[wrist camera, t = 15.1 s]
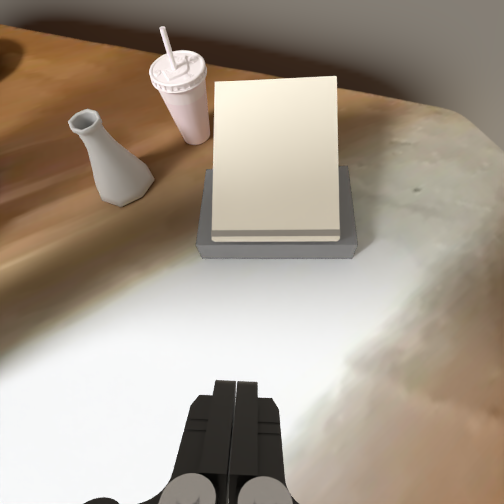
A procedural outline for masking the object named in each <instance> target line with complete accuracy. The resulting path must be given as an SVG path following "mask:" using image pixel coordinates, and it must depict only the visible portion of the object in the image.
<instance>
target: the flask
mask: <svg viewBox="0 0 504 504" xmlns="http://www.w3.org/2000/svg"><path fill="white" fill-rule="evenodd" d="M68 123H69V126H70V128H71V130H72V131H73V132H74V133H77V134H78V135H79V136H80V138H81V139H82V140H83V142H84V144H85V146H86V148H87V150H88V153H89V157H90V161H91V165H92V170H93V175H94V180H95V184H96V187H97V189H98V192H99V194H100V196H101V199H102V201H105V202H108V203H111V204H113V205H116V206H119V207H122V206H124V205H126V204H128V203H131V202H133V201H135V200H137V199H139V198H141V197H143V195H144V194H145V193H146V191H147V190H148V188H149V187H150V186H151V184H152V183H153V181H154V180H155V179H154V177H153V176H152V174H151V172H150V170H149V168H148V166H147V165H146V164H145V163H143V162H142V161H141V160H140V159H138V158H137V157H136V156H134V155H133V154H131V153H130V152H129V151H128V150H126V149H125V148H124V147H123V146H121V145H120V144H119V143H118V142H117V141H115V140H114V139H113V138H112V137H111V135H110V134H109V133H108V132H107V131H106V130H105V129H104V127H103V126H102V120H101V118H100V116H99V114H98V112H97V111H94V110H91V109H85V110H83V111H80V112H78V113H76V114H75V115H74V116H73V117H72V118H71V119H70V120H69V121H68Z"/></svg>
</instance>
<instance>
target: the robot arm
mask: <svg viewBox="0 0 504 504" xmlns="http://www.w3.org/2000/svg"><path fill="white" fill-rule="evenodd" d="M235 398H236V403H235ZM228 499H229V503H228ZM84 504H119V503H118V502H117V501H115V500H114V499H111V498H105V497H103V498H96V499H93V500H90V501H88V502H86V503H84ZM139 504H299V503H298V502H296V501H295V499H294V498H293V497H292V496H291V494H290V493H289V491H288V489H287V486H286V483H285V475H284V464H283V452H282V440H281V429H280V417H279V409H278V407H277V406H276V404H275V402H274V401H273V399H272V398H258V386H257V382H245V381H237V392H236V381H224V380H216V381H215V386H214V391H213V396H212V395H199V396H198V397H197V399H196V400H195V401H194V402H193V403H192V405H191V406H190V410H189V414H188V417H187V421H186V425H185V429H184V432H183V436H182V440H181V443H180V447H179V451H178V455H177V458H176V462H175V466H174V470H173V473H172V476H171V479H170V481H169V482H168V484H167V485H166V487H165V488H164V489H163V490H162V491H161V492H160V493H159V494H158V495H156V496H155V497H153V498H152V499H150V500H148V501H145V502H142V503H139Z"/></svg>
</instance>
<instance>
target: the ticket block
mask: <svg viewBox="0 0 504 504" xmlns="http://www.w3.org/2000/svg"><path fill="white" fill-rule="evenodd" d="M338 171H339V221H340V239H339V240H338V241H305V242H214V241H213V240H212V237H211V230H212V195H213V169H206V175H205V182H204V190H203V197H202V204H201V211H200V219H199V226H198V233H197V240H196V247H197V249H198V251H199V253H200V255H201V257H202V258H259V259H352V257H353V255H354V252H355V250H356V248H357V245H358V243H357V235H356V227H355V219H354V211H353V203H352V195H351V187H350V179H349V171H348V166H338Z"/></svg>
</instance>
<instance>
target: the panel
mask: <svg viewBox="0 0 504 504" xmlns="http://www.w3.org/2000/svg"><path fill="white" fill-rule="evenodd" d="M211 237H212V240H213V241H214V242H305V241H338V240H339V239H340V221H339V171H338V120H337V76H329V77H308V78H288V79H267V80H247V81H227V82H215V102H214V148H213V195H212V230H211Z"/></svg>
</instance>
